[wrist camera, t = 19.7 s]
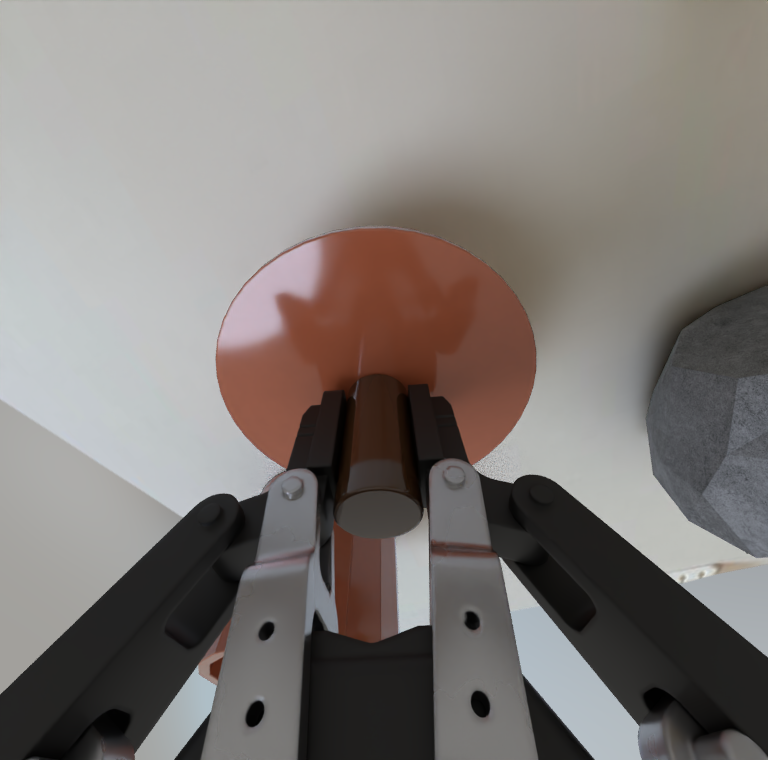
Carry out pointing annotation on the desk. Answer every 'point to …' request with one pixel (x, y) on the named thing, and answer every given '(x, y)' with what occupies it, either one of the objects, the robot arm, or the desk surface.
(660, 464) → the potted plant
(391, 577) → the tin
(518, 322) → the lid
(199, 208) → the desk surface
